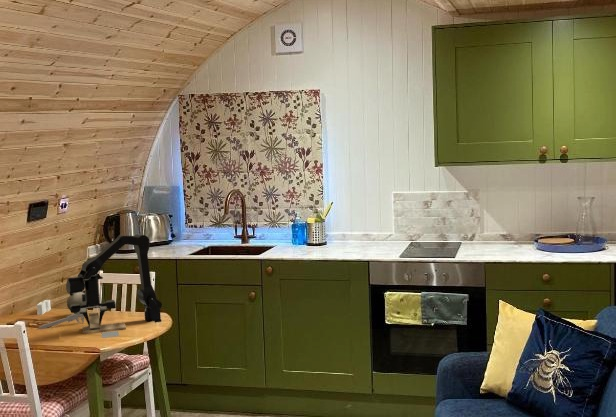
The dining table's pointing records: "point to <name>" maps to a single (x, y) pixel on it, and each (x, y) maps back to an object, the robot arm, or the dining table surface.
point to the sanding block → (94, 321)
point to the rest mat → (110, 334)
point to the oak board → (105, 328)
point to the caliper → (64, 320)
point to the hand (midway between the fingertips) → (94, 325)
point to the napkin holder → (43, 307)
